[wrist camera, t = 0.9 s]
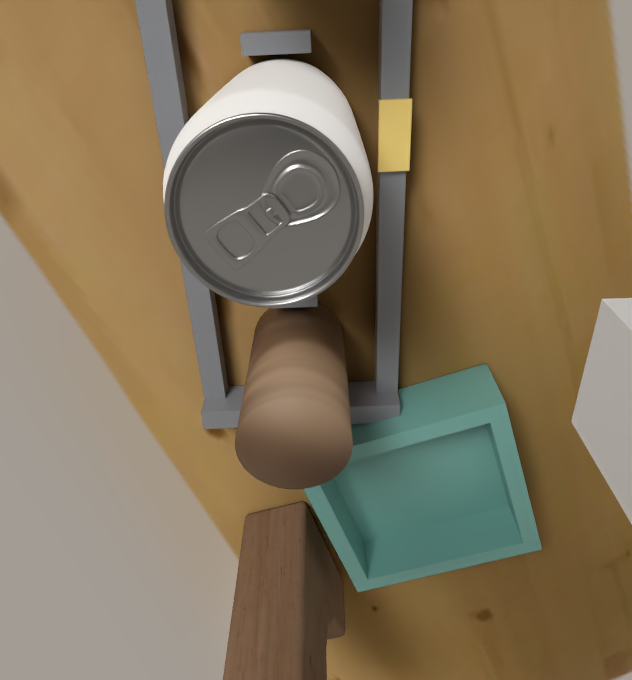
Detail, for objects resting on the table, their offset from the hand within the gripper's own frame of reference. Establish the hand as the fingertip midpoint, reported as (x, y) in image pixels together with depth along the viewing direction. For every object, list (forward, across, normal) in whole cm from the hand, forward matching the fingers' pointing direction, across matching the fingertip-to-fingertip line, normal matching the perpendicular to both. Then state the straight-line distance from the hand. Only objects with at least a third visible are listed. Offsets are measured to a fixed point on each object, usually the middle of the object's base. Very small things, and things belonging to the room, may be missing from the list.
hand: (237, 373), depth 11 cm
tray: (+18, +7, -20) cm, 28 cm away
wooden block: (+18, -1, -28) cm, 33 cm away
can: (+19, 0, 0) cm, 19 cm away
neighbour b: (+18, 0, -10) cm, 21 cm away
